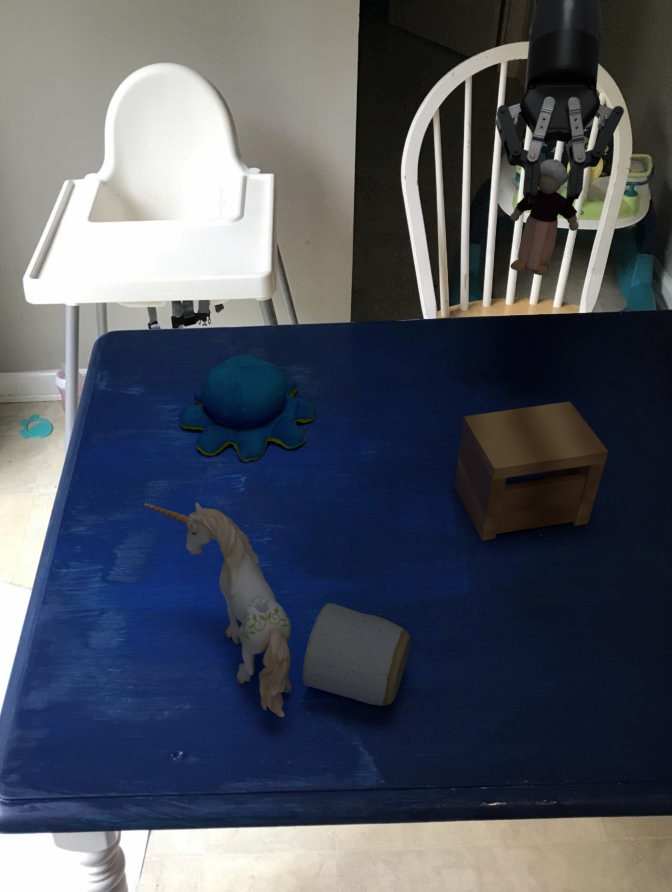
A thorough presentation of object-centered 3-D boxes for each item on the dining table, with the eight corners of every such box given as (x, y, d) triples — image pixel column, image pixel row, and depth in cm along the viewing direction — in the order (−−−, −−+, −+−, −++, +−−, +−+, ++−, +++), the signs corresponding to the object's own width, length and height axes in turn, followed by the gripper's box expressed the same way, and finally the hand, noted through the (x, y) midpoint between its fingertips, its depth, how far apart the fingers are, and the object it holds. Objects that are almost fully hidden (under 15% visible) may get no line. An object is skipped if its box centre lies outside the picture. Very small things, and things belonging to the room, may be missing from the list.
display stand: (553, 472, 96) (570, 401, 90) (588, 524, 90) (608, 451, 83) (454, 487, 95) (463, 416, 88) (482, 541, 88) (494, 468, 82)
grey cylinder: (390, 727, 72) (395, 671, 67) (301, 702, 74) (299, 646, 69) (418, 637, 79) (424, 581, 74) (336, 616, 81) (337, 561, 76)
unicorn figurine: (223, 570, 87) (210, 471, 78) (340, 694, 75) (341, 594, 66) (163, 602, 84) (143, 503, 75) (275, 736, 72) (267, 637, 63)
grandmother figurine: (499, 272, 98) (516, 163, 89) (504, 258, 100) (520, 150, 92) (567, 280, 96) (590, 169, 87) (570, 265, 98) (593, 156, 90)
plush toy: (162, 452, 102) (153, 395, 96) (206, 376, 114) (199, 322, 108) (295, 469, 98) (292, 411, 93) (325, 390, 110) (324, 334, 105)
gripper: (622, 67, 94) (610, 217, 93) (494, 67, 96) (482, 213, 95) (640, 25, 86) (627, 188, 86) (501, 26, 89) (488, 184, 88)
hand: (551, 200), depth 91 cm, fingers closed on grandmother figurine, 3 cm apart
